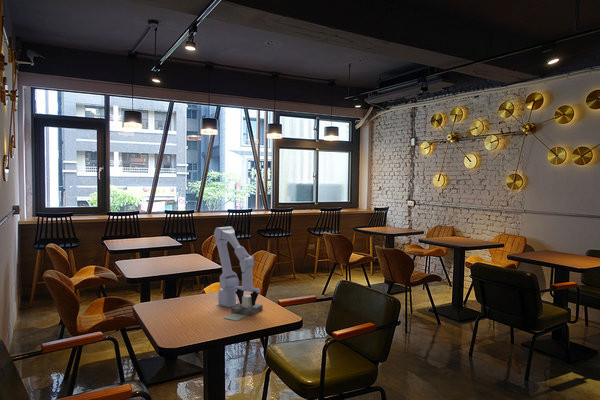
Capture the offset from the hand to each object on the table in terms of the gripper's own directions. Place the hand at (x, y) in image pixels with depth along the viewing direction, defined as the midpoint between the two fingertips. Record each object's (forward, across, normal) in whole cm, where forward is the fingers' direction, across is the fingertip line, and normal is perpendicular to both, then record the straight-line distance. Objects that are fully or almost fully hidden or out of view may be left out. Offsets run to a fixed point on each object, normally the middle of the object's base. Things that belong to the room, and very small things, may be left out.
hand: (247, 304), depth 214 cm
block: (+4, 0, 0) cm, 4 cm away
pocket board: (+3, 0, 0) cm, 3 cm away
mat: (+4, 0, -12) cm, 12 cm away
